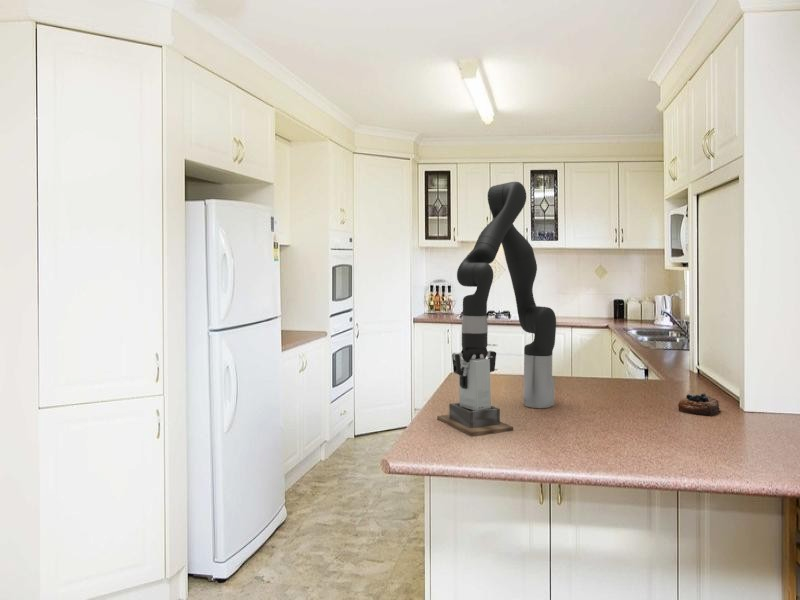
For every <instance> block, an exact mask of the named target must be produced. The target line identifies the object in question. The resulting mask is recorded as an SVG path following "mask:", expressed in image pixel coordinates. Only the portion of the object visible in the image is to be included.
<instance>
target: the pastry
mask: <svg viewBox="0 0 800 600" xmlns="http://www.w3.org/2000/svg"><path fill="white" fill-rule="evenodd" d="M677 407H678V412H680V413H683V414H684V413H685V414H688V415H694V416H695V415H696V416H704V417H713V416H714V415H717V414H718V413H721V410H720V403H719V399H718V400H717V398H715V397H712V396H710V395H706V393H704V392H703V393H701V394H700V395H699V394H690V393H689V394H688V393H687V394H686V397H685V398H684V397H683V398H682V399H680V400H679V401H678V405H677Z"/></svg>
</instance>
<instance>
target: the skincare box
mask: <svg viewBox="0 0 800 600" xmlns="http://www.w3.org/2000/svg"><path fill="white" fill-rule="evenodd" d="M462 363H463V364H464V365H467V364H468V363H467V362H465V361H464V359H463V358H462V357H461V360H460V364H462ZM466 376H467V389H463V388H461V386H460V375H459V374H458V390H459V391H458V393H459V395H458V396H459V400H458V401H459V402H460V407H463V408H467V409H471V410H474V411H479V410H488V409H491V406H492V394H491V391H492V390H491V372H490V359H488V358H484V359H475V360H470V369H469V370H468V372H467V375H466ZM459 402H458V403H459Z"/></svg>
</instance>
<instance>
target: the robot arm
mask: <svg viewBox="0 0 800 600" xmlns="http://www.w3.org/2000/svg"><path fill="white" fill-rule="evenodd" d="M526 202H527V191H526V188H525V187H524V185H523V183H521V182H519V181H510V182H503V183H501V184H495V185H493V186H490V188H489V189H488V191H487V203H488V208H489V210H490V212H491V216H492V218H493V219H492V220H491V221H490V222H489V223H488V224H487V225H486V226H485V227H484V228H483V229H482V231H481V232H480V234H479V235H478V237H477V240H476V242H475V244H474V246H473V248H472V250H471V251H470V252H469V253H468V254H467V255H466V257H464V258H463V260H462V262H460V264H459V266H458V269H457V271H456V280H457V282H458V283H459V285H461V286H462V287H469V288H473V287H474V288H475V287H476V290H475V292H474V293H472V294H468V295H465V296H464V297H463V299H462V319H461V352H458V353H455V352H454V353H452V355H451V359H452V370H453V373H454V374H457V375H458V376H459V375H460V386H461V388H463V389H467V376H466V375H467V372H468V370H469V369H470V360H475V359H484V358H485V359H490V373H492V372H494V371H496V369H495V368H496V360H497V352H496V351H494V350H489V351H488V349H487V348H488V332H489V331H488V328H489V327H488V325H489V324H488V299H489V294H490V291H491V287H492V284H493V280H494V269H493V268H492V266H491V265H490V264H492V263H493V262H494V261H495V260H496V257H497V254H498V252H499V249H500V247H501V246H502V250H503V254H504V259H505V261H506V266H507V269H508V273H509V275H510V280H511V284H512V290H513V292H514V297H515V303H516V308H517V309H516V311H517V316H518V321H519V324H520V327H521V328H522V330H523V331H524V332H526V333H528V334H534V337H533V341H532V342H530V343H527V344H526V345H524V347H523V348H524V349H523V351H524V352H523V406H524V407H525V406H526V407H528V408H533V409H546V408H547V409H548V408H551V407H554V406H555V379H556V378H555V377H554V376H553V353H554V352H553V351H554V348H555V344H556V333H557V316H556V313H555V311H554V310H553V309H552V308H551V307H548V306H539V305H538V306H537V304H536V302H535V298H534V292H533V286H534V283H535V280H536V277H537V271H538V264H537V260H536V256H535V253H534V249H533V247H532V246H533V245H531V244H530V242H529V240H527V239H526V238H525V236H524V235H522V234H521V232H519V231H518V229H517V228H516V227H515V225H514V223H515V221H516V219H517V218H518V216H519V215H520V213H521V212H522V210H523V209H524V207H525V205H526ZM461 358H463V359H464V361H465V362H467V363H468V364H467V365H464V364H463V363H462V364H460V360H461Z"/></svg>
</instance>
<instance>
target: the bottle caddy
mask: <svg viewBox="0 0 800 600" xmlns="http://www.w3.org/2000/svg"><path fill="white" fill-rule="evenodd" d="M448 406H449V407H448V412H449V414H442V415H437V417H436V419H437V420H438V421H440V422H441V423H444V424H446V425H447V426H450V427H452V428H454V429H456V430H458V431H460V432H462V433H464V434H466V435H468V436H469V437H476V436H483V435H492V434H497V433H498V434H499V433H506V432H511V431H512V432H513V431H514V426H512V425H510V424H507V423H505V422H503V421H501V420H500V419H501V416H500V415H501V409H500V408H498V407H496V406H493V405H491V409H488V410H479V411H474V410H471V409H467V408H463V407H460V402H452V403H451V402H450V403H449V404H448Z"/></svg>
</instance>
